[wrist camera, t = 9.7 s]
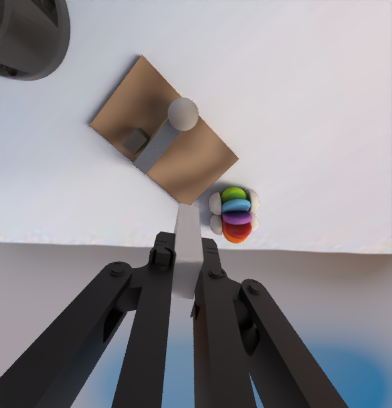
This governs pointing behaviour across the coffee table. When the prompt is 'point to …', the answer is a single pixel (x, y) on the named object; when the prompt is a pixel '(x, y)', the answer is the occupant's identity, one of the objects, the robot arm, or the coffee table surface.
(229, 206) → the multicolored petal toy
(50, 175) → the coffee table surface
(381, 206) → the coffee table surface
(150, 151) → the bar
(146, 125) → the board
